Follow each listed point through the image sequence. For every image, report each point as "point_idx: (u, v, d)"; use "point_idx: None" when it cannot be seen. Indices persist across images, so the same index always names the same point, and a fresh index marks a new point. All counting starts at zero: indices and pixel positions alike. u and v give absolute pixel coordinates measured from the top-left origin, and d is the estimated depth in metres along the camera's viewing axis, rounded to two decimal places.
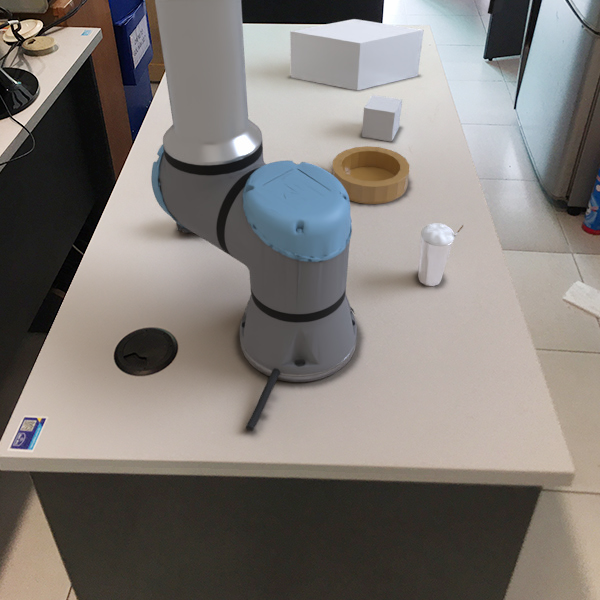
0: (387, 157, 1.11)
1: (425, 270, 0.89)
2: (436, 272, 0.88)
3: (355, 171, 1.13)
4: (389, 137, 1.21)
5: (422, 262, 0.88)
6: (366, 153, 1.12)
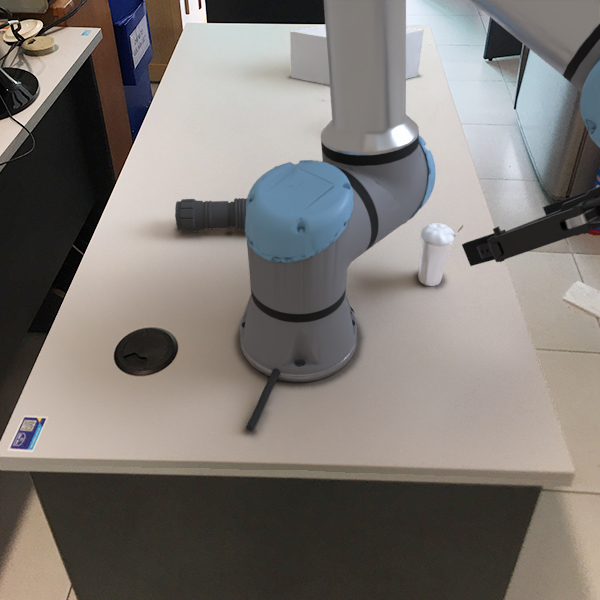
0: None
1: (425, 270, 0.89)
2: (436, 272, 0.88)
3: None
4: None
5: (422, 262, 0.88)
6: None
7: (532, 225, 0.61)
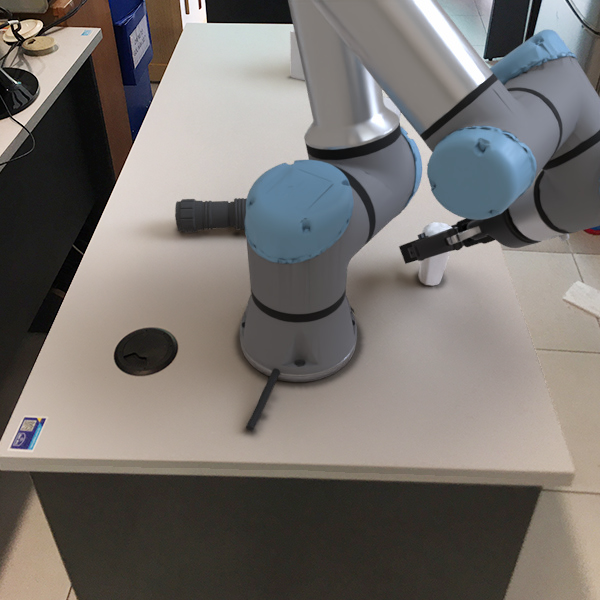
0: None
1: (426, 269, 0.89)
2: (437, 271, 0.88)
3: None
4: None
5: (423, 261, 0.88)
6: None
7: (431, 238, 0.78)
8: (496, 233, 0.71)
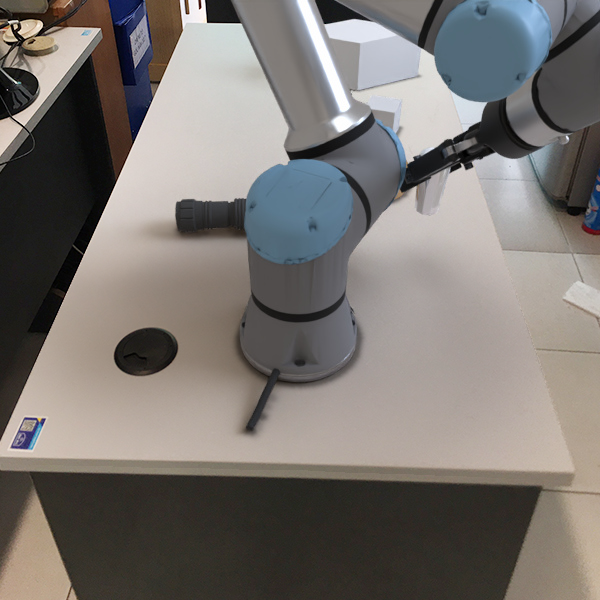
0: None
1: (422, 197, 0.86)
2: (433, 199, 0.86)
3: None
4: None
5: (419, 188, 0.86)
6: None
7: (426, 154, 0.75)
8: (493, 141, 0.69)
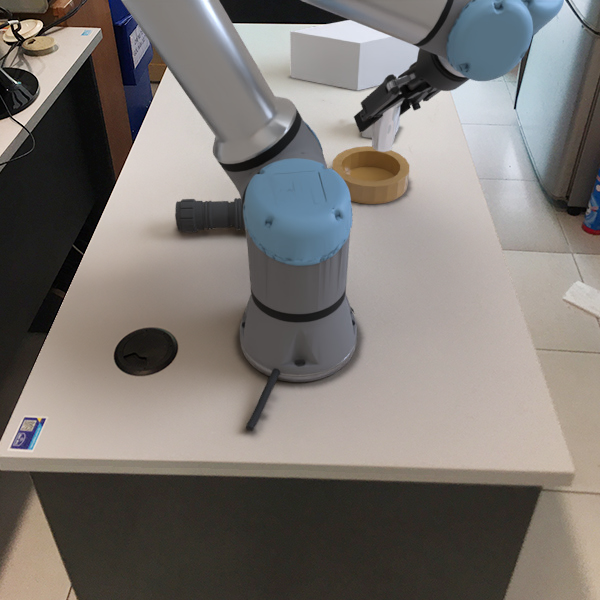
0: (387, 157, 1.11)
1: (377, 135, 0.99)
2: (386, 136, 0.98)
3: (355, 171, 1.13)
4: None
5: (374, 127, 0.98)
6: (366, 153, 1.12)
7: (375, 91, 0.88)
8: (427, 74, 0.81)
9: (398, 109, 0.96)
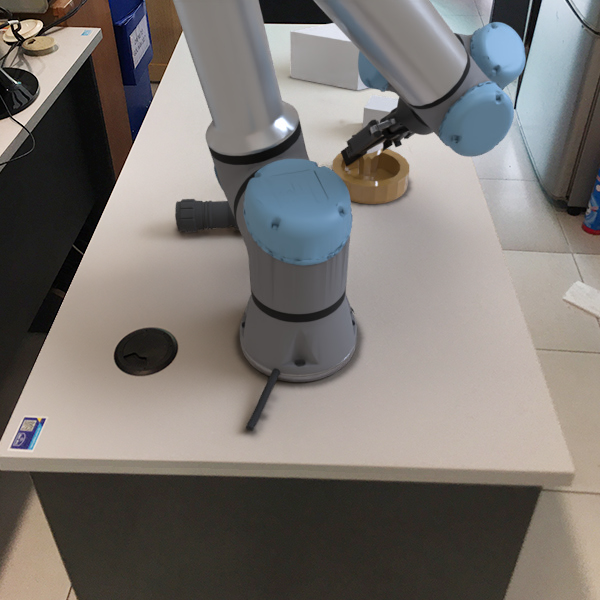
0: (387, 157, 1.11)
1: (362, 169, 1.07)
2: (371, 170, 1.07)
3: (355, 171, 1.13)
4: None
5: (359, 162, 1.07)
6: None
7: (359, 132, 0.97)
8: (406, 121, 0.90)
9: (381, 146, 1.04)
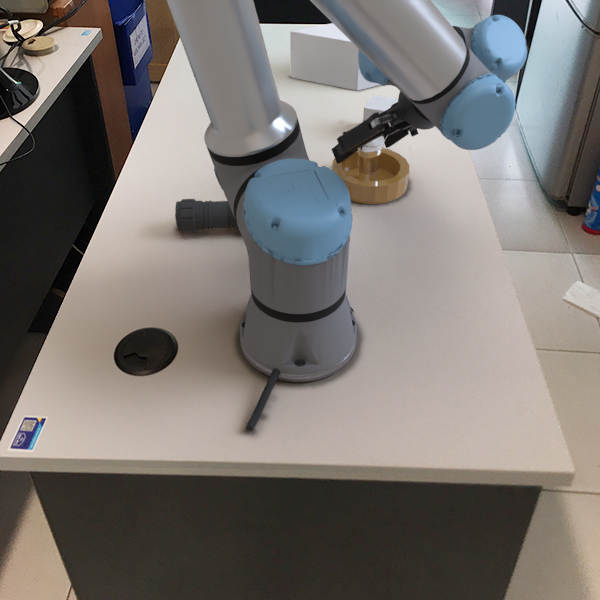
0: (387, 157, 1.11)
1: (362, 171, 1.08)
2: (371, 172, 1.07)
3: (355, 171, 1.13)
4: None
5: (359, 164, 1.07)
6: None
7: (356, 127, 0.95)
8: (406, 115, 0.89)
9: (380, 148, 1.04)
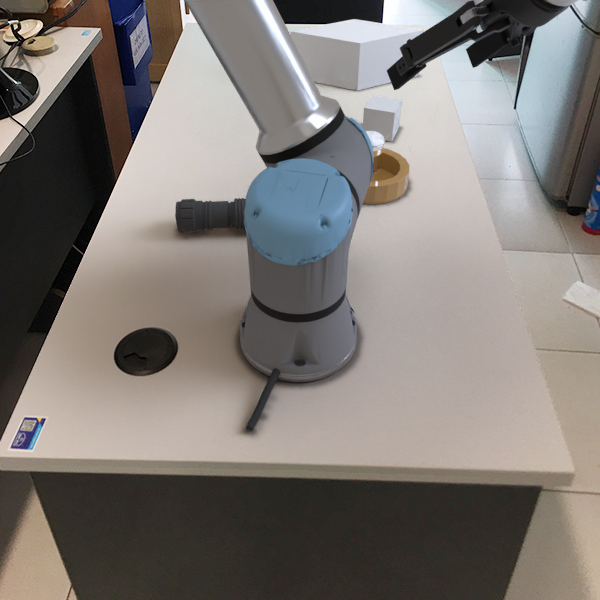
0: (387, 157, 1.11)
1: None
2: None
3: None
4: (389, 137, 1.21)
5: None
6: None
7: (434, 26, 0.70)
8: (511, 5, 0.65)
9: (380, 148, 1.04)
